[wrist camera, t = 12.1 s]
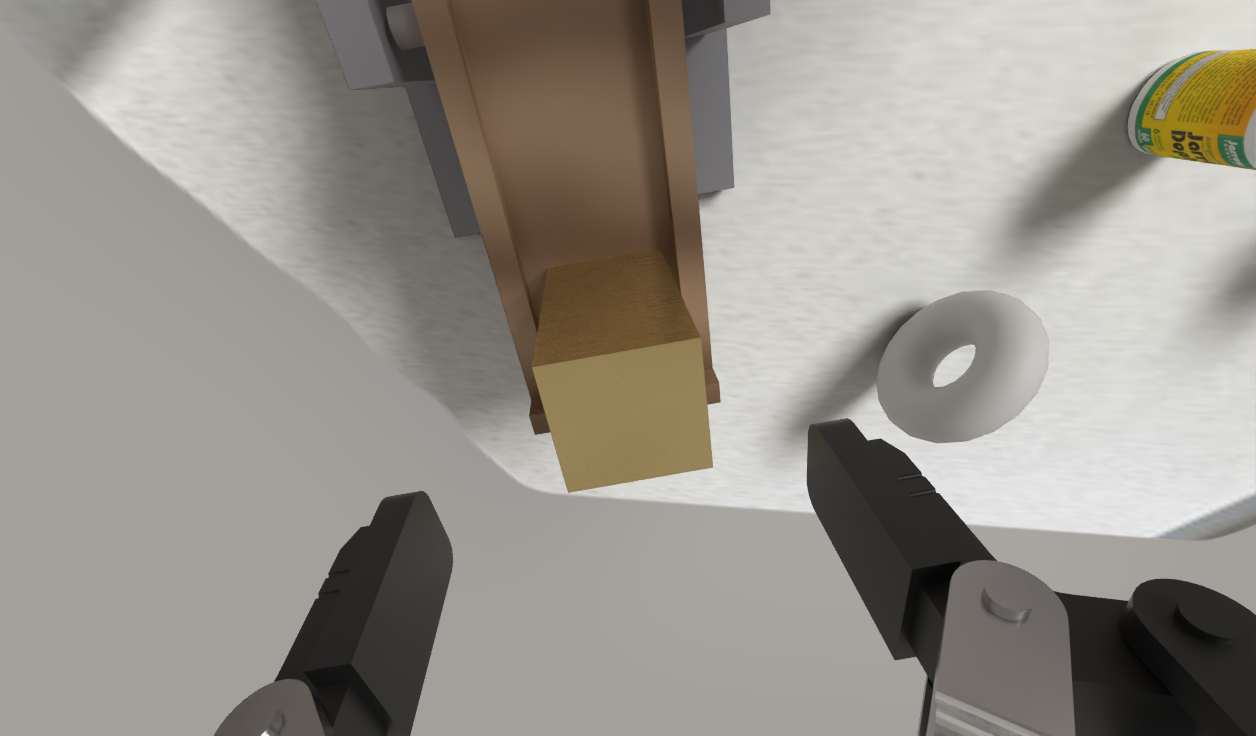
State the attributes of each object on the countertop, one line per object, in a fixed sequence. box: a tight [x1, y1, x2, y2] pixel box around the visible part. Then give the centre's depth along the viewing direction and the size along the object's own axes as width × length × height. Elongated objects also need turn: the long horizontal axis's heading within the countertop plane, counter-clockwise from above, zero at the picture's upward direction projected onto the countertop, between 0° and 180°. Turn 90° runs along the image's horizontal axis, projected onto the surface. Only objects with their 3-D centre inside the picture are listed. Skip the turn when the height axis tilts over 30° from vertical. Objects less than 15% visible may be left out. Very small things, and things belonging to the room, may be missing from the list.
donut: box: [876, 291, 1049, 443], centre depth 32 cm, size 10×4×10 cm, turn 148°
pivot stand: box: [316, 0, 770, 238], centre depth 21 cm, size 18×16×11 cm
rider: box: [532, 248, 713, 493], centre depth 18 cm, size 4×4×8 cm
